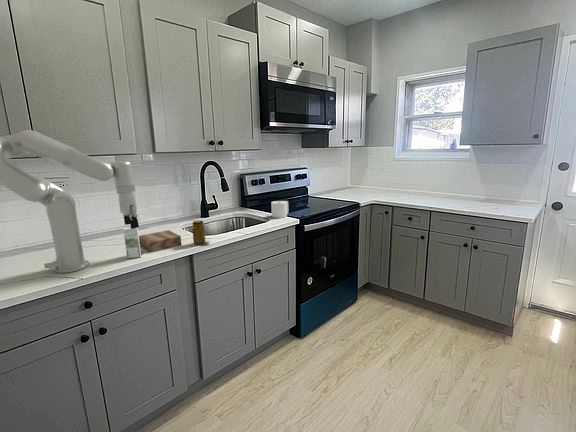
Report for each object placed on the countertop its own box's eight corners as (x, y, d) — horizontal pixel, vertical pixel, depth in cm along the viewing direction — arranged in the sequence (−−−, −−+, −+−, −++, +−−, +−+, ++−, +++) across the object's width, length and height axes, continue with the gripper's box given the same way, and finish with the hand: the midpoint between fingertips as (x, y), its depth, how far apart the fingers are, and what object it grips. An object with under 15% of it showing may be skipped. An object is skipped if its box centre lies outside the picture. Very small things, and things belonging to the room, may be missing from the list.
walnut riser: (149, 252, 155) (148, 243, 153) (139, 245, 166) (138, 236, 165) (181, 245, 165) (180, 236, 164) (169, 238, 176) (168, 230, 175)
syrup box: (141, 253, 154) (137, 224, 150) (140, 257, 148) (136, 227, 145) (128, 255, 152) (123, 225, 148) (127, 259, 146) (122, 228, 143)
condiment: (194, 241, 171) (192, 220, 168) (210, 241, 171) (208, 219, 169) (191, 246, 164) (189, 223, 161) (208, 245, 164) (206, 222, 162)
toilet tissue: (269, 217, 221) (269, 203, 219) (275, 213, 233) (274, 200, 230) (284, 218, 218) (283, 204, 216) (289, 214, 229) (289, 200, 227)
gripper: (111, 188, 147) (117, 224, 151) (122, 192, 134) (128, 231, 138) (129, 186, 152) (134, 221, 156) (140, 190, 139) (146, 227, 143)
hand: (131, 226), depth 147 cm, fingers open, 9 cm apart
